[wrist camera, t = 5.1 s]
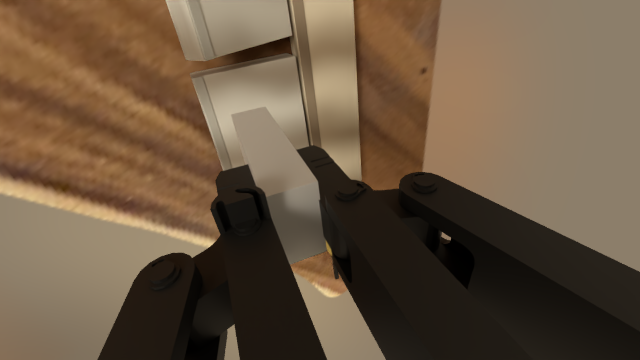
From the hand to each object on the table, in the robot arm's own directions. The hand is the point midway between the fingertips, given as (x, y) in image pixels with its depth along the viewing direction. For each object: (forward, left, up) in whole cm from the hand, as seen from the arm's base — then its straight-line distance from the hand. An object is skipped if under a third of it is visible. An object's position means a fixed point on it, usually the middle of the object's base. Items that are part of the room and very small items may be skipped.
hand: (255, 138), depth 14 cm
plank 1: (+6, +1, -13) cm, 14 cm away
